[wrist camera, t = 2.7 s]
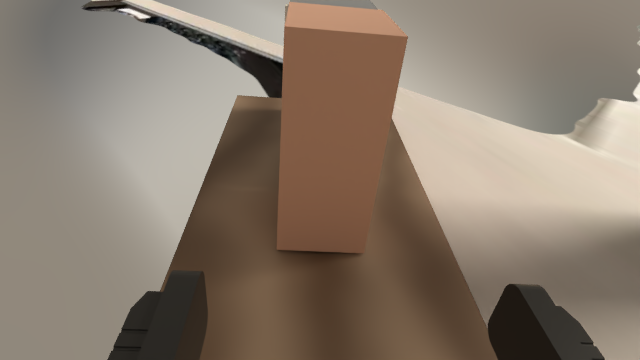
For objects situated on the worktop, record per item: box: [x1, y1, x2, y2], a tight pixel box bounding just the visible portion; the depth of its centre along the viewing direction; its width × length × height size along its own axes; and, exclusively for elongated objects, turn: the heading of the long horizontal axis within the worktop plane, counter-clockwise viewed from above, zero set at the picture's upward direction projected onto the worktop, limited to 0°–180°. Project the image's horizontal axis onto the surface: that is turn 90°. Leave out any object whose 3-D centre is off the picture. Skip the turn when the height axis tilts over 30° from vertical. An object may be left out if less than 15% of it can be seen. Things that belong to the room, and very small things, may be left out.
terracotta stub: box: [276, 2, 408, 253], centre depth 21 cm, size 5×6×12 cm
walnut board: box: [160, 95, 498, 360], centre depth 29 cm, size 16×32×2 cm, turn 2°
